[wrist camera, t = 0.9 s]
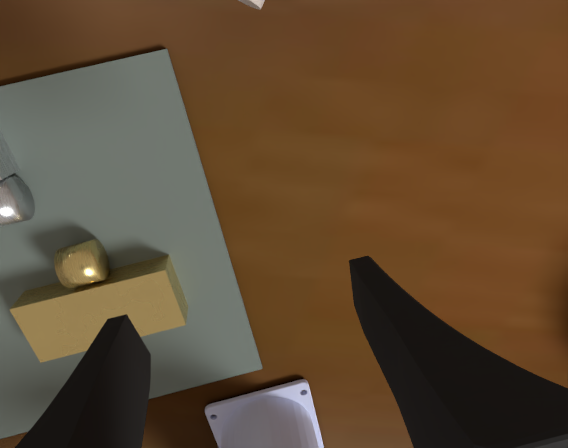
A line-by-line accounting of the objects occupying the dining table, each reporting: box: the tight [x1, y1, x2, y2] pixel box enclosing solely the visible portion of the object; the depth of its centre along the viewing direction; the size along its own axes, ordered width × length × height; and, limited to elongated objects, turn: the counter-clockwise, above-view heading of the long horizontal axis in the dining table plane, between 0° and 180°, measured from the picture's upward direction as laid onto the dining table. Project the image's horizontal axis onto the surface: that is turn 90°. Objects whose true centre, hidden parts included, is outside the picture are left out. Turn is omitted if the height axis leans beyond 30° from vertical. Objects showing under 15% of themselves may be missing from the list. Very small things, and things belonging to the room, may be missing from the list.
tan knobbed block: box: [9, 239, 188, 363], centre depth 25 cm, size 9×6×2 cm
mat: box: [0, 49, 262, 439], centre depth 25 cm, size 22×22×1 cm
